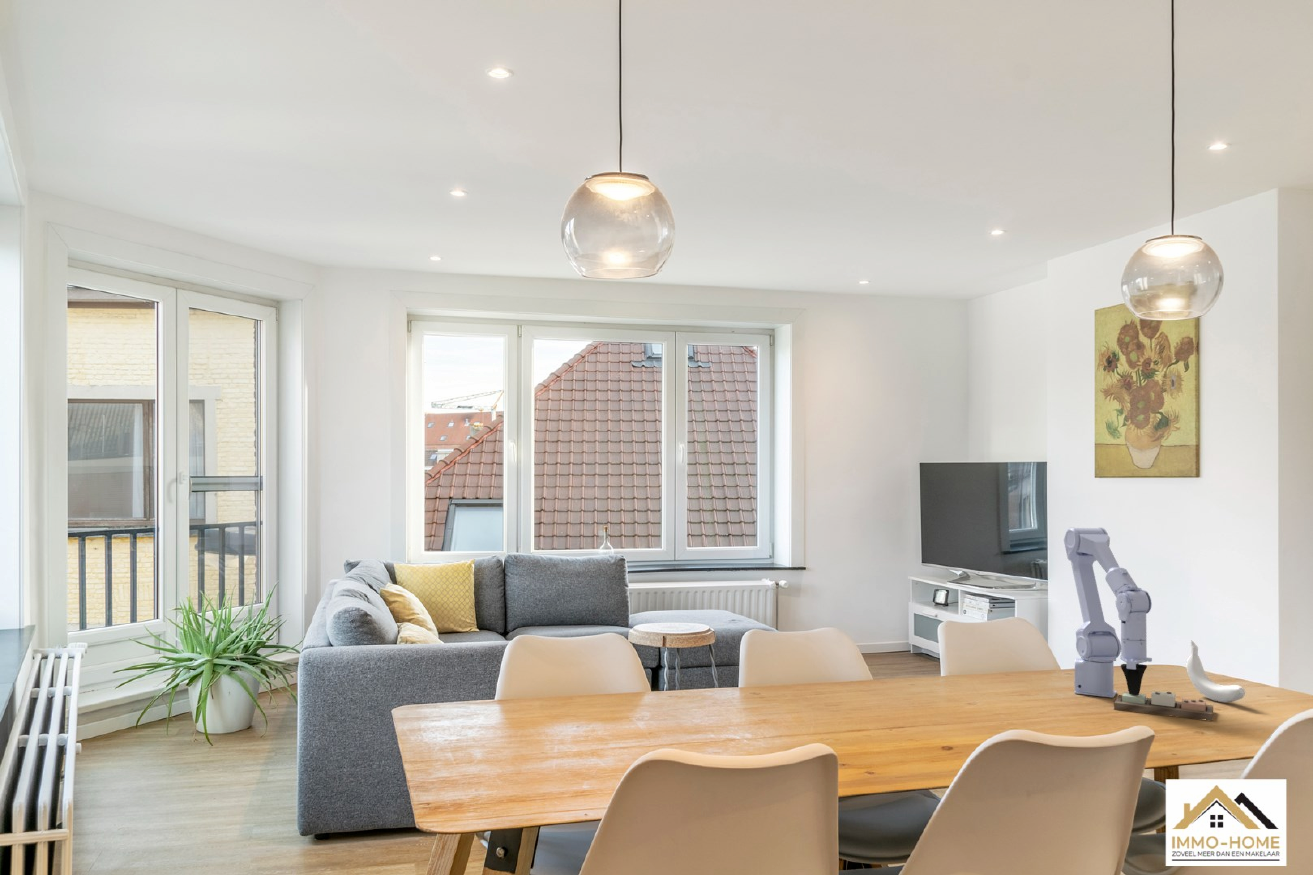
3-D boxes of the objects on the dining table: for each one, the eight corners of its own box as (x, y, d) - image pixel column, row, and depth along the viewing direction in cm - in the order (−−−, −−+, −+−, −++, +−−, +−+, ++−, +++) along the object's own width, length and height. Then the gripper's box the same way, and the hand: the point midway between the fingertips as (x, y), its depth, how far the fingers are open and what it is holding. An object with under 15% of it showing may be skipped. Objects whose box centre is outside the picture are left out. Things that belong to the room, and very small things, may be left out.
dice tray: (1114, 709, 241) (1114, 702, 241) (1118, 700, 250) (1118, 694, 250) (1212, 720, 230) (1211, 714, 230) (1213, 711, 239) (1213, 705, 239)
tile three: (1181, 712, 236) (1181, 701, 236) (1182, 708, 240) (1182, 697, 240) (1205, 715, 233) (1205, 703, 233) (1205, 711, 238) (1205, 699, 238)
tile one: (1122, 705, 242) (1121, 694, 243) (1124, 701, 247) (1124, 690, 247) (1144, 707, 240) (1144, 696, 240) (1146, 704, 244) (1146, 693, 244)
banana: (1240, 710, 242) (1239, 650, 242) (1180, 693, 260) (1179, 638, 261) (1256, 709, 243) (1255, 650, 244) (1195, 693, 261) (1194, 638, 262)
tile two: (1151, 704, 239) (1151, 693, 239) (1152, 700, 243) (1152, 689, 244) (1174, 706, 237) (1174, 695, 237) (1175, 702, 241) (1175, 691, 241)
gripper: (1149, 644, 236) (1149, 701, 235) (1153, 636, 248) (1154, 690, 248) (1117, 641, 239) (1117, 697, 239) (1123, 634, 252) (1123, 687, 251)
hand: (1134, 694), depth 243 cm, fingers closed, pressing on tile one
